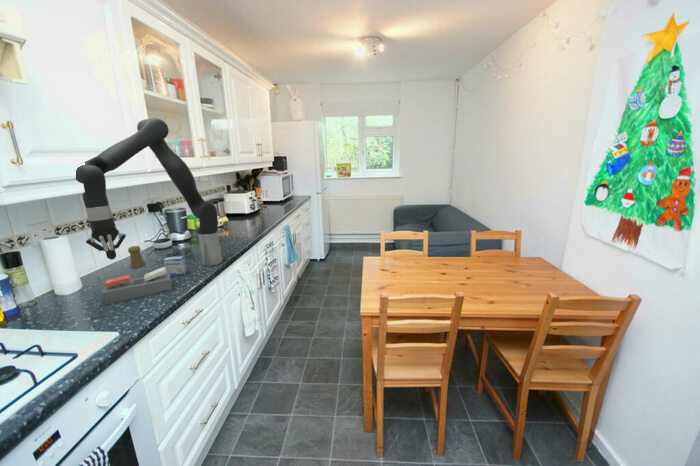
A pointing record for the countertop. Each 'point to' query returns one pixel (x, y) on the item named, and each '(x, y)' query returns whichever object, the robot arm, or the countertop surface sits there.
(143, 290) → the rocker switch panel
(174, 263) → the medicine box
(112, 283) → the block
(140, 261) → the cork
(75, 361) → the countertop surface
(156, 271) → the white rocker
